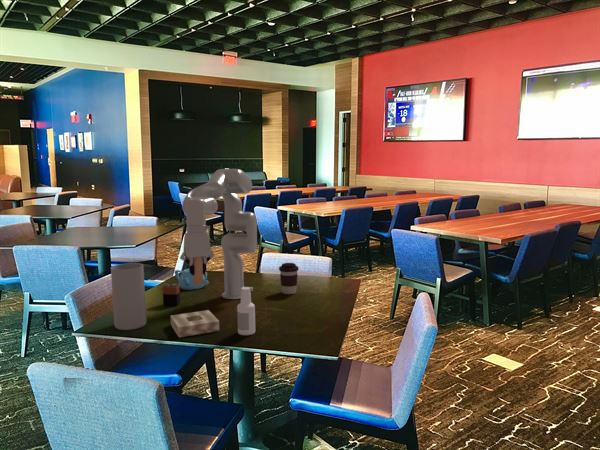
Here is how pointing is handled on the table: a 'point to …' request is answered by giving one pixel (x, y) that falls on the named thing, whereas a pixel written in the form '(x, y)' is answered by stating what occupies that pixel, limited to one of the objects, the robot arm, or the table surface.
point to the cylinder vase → (128, 296)
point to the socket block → (194, 323)
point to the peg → (198, 271)
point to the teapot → (188, 280)
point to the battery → (171, 295)
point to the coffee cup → (288, 277)
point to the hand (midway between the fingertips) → (198, 273)
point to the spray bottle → (246, 313)
